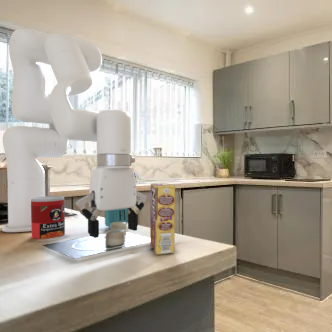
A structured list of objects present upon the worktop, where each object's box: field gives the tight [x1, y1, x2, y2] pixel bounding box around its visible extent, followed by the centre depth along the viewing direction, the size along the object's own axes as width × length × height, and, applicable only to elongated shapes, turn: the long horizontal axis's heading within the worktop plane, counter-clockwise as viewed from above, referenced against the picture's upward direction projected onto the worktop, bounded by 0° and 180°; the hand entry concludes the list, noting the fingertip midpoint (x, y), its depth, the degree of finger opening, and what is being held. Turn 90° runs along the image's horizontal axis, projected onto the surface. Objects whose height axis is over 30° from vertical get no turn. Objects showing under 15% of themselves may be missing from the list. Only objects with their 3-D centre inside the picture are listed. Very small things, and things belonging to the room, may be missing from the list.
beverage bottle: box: [104, 208, 129, 228], centre depth 98 cm, size 6×7×20 cm
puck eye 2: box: [105, 229, 124, 246], centre depth 78 cm, size 4×4×3 cm
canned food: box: [31, 195, 66, 240], centre depth 88 cm, size 8×8×11 cm
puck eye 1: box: [110, 222, 127, 234], centre depth 89 cm, size 4×4×3 cm
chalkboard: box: [41, 231, 150, 260], centre depth 80 cm, size 18×20×1 cm
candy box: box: [149, 182, 176, 255], centre depth 75 cm, size 9×4×15 cm, turn 26°
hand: (114, 233), depth 78 cm, fingers open, 9 cm apart
